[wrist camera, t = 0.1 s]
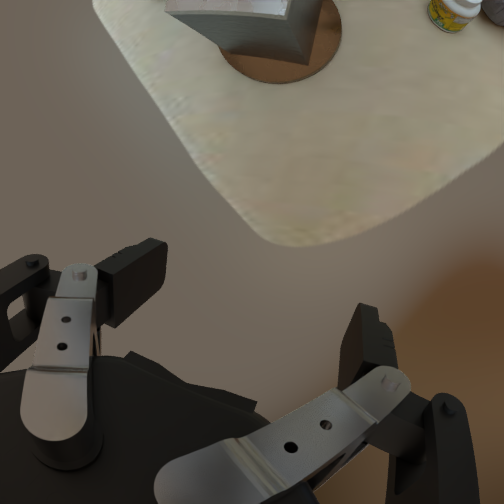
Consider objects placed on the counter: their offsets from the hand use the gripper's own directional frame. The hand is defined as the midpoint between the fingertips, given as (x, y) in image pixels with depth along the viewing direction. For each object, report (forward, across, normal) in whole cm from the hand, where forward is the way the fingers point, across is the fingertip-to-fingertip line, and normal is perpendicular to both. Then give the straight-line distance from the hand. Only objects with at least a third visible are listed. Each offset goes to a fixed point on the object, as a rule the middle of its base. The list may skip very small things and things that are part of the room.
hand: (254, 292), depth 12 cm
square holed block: (+29, +9, -20) cm, 36 cm away
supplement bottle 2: (+30, -12, -29) cm, 43 cm away
